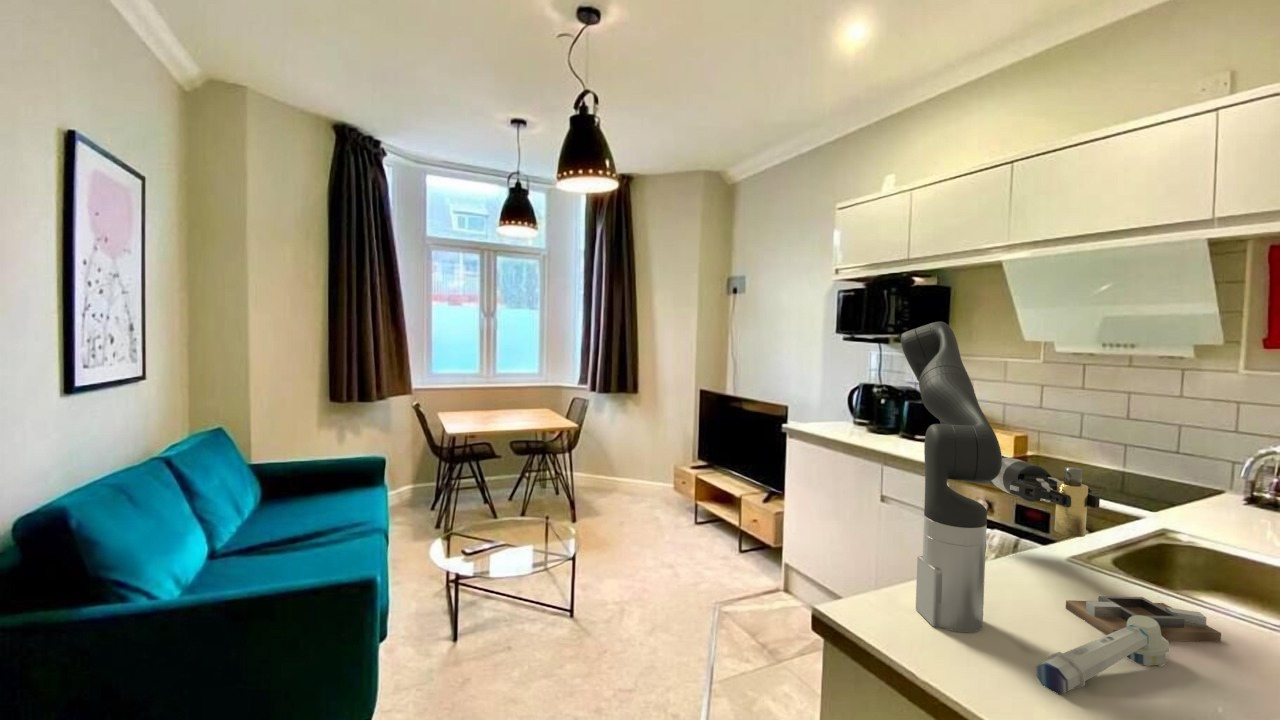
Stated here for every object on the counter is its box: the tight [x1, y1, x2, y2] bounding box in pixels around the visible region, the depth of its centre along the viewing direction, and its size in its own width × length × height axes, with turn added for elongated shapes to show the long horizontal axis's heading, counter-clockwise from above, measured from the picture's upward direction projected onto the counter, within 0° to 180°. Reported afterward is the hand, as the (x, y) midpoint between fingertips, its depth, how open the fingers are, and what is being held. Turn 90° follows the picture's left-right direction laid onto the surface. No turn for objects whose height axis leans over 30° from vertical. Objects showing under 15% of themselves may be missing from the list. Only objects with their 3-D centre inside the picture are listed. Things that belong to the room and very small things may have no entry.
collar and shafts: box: [1085, 595, 1207, 628], centre depth 93 cm, size 16×8×2 cm, turn 89°
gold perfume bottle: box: [1054, 466, 1089, 538], centre depth 101 cm, size 4×4×12 cm
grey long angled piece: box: [1035, 615, 1170, 695], centre depth 79 cm, size 5×7×25 cm
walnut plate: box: [1065, 599, 1222, 643], centre depth 93 cm, size 17×10×2 cm, turn 89°
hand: (1083, 502), depth 99 cm, fingers closed on gold perfume bottle, 4 cm apart
